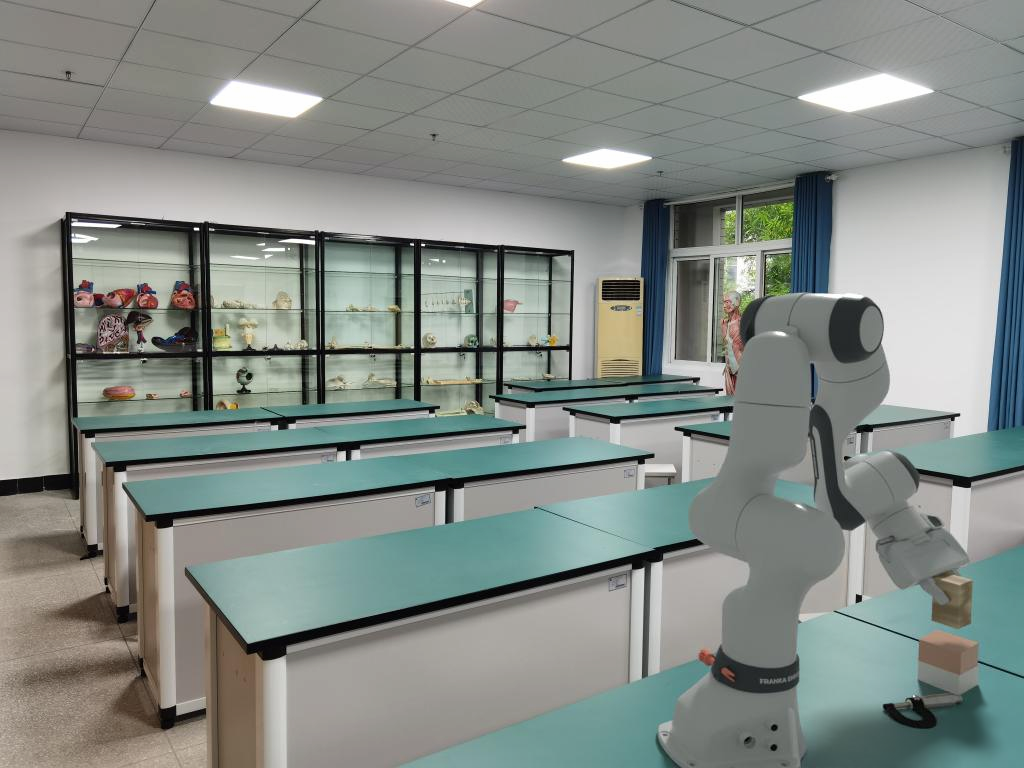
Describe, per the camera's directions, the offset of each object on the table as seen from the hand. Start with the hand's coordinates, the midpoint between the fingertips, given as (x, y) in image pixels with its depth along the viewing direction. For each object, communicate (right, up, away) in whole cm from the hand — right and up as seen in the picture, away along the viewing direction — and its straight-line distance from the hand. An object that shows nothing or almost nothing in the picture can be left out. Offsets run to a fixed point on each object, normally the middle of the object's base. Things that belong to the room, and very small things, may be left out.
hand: (955, 599), depth 128 cm
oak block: (0, -4, +1) cm, 4 cm away
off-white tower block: (0, -16, +2) cm, 16 cm away
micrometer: (-9, -17, -9) cm, 21 cm away
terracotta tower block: (0, -12, +2) cm, 12 cm away
